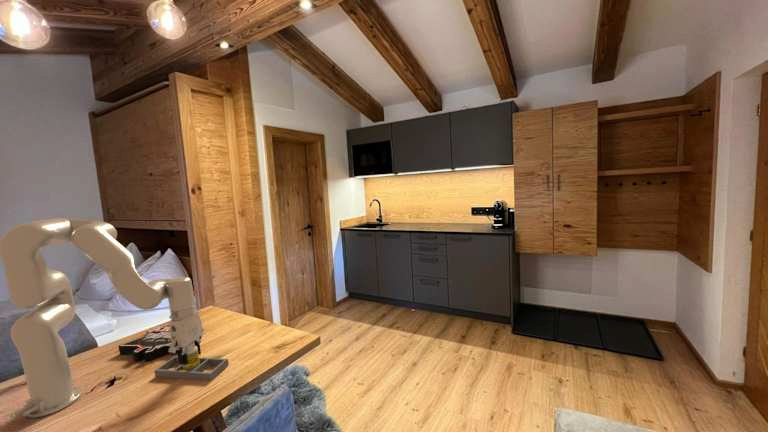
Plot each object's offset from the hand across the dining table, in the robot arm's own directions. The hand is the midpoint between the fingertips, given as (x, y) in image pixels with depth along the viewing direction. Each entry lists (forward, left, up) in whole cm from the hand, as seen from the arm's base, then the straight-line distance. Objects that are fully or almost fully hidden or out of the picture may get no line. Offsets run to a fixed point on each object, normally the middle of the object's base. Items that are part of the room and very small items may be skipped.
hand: (190, 358), depth 113 cm
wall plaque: (+18, +28, -6) cm, 34 cm away
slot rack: (0, 0, -5) cm, 5 cm away
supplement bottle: (0, 0, -4) cm, 4 cm away
